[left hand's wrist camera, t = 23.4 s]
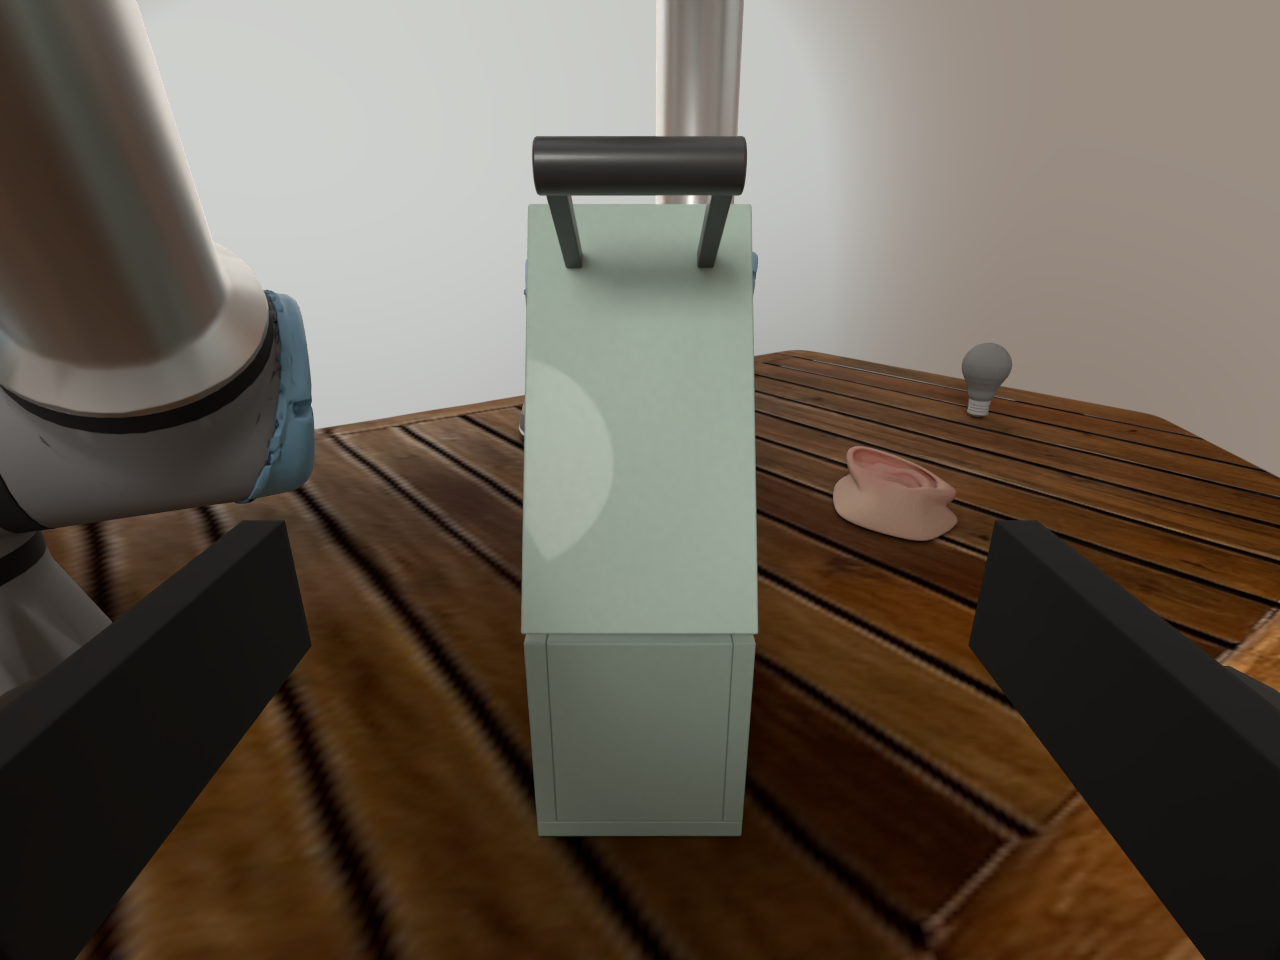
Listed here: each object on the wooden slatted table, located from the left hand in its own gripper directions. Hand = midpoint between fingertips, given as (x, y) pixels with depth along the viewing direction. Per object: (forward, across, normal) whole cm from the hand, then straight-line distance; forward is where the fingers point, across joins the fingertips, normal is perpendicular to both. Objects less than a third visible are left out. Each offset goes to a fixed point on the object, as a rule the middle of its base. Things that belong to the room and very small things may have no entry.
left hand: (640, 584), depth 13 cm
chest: (+20, 0, -20) cm, 28 cm away
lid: (+16, 0, -1) cm, 16 cm away
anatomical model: (+48, +24, -20) cm, 57 cm away
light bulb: (+79, +46, -20) cm, 94 cm away
